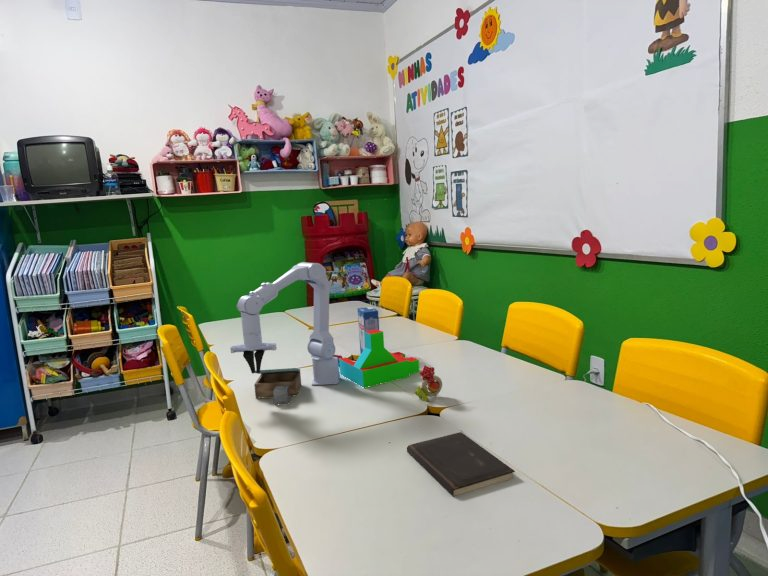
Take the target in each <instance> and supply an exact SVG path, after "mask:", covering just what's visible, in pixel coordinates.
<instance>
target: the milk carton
mask: <svg viewBox="0 0 768 576" xmlns="http://www.w3.org/2000/svg"><path fill="white" fill-rule="evenodd" d="M357 320H358V321H357V323H358V337H359V350H360V351H359V352H360V354H361V353H362V352H363V350H364V348H365V338H364V332H365V331H371V330H376V329H377V330H380V319H379V310H378V309H376V308H374V307H373V306H367V307H359V308H357Z"/></svg>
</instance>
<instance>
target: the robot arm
mask: <svg viewBox="0 0 768 576" xmlns="http://www.w3.org/2000/svg"><path fill="white" fill-rule="evenodd" d="M296 281H303V282H306V283H307V284H308V285H310V287H312V288H313V331H312V332H311V334H310V335H309V341H308V342H307V349H306V350H307V352H308V353H309V355H310V357H311V362H312V371H313V372H312V373H313V374H312V375H313V380H312V383H311V386H321V385H323V386H325V385H335V384H336V385H337V384H339V381H340V376H341V375H340V364H338V357H333V355H336V346H335V343H334V342H335V341H334V337H333V335H332V334H331V333H330V326H329V325H330V281H329V278H328V275H327V269H326V268H325V267H324V266H323V265H322V264H321V263H318V262H306V261H302V262H299V263H297V264H295V265H293V266H292V267H291V268H290V269H289V270H288V271H286V272H285V273H284V274H283V275H281V276H280V277H278V278H277V279H276V280H275V281H273V282H268V281H267V282H262V283H261V284H260V286H259V287H258V288H256V289H255V290H253V291H252V290H251V291H249V294H247V295H243V296H241V297H240V298H239V299H238V302H237V304H236V308H237V310H238V312H240V318H241V328H242V338H243V344H237V345H231V346H230V347H229V348H230V349H229V350H230V353H231V354H235V353H243V354H242V356H243V358H244V359H245V361H246V363H247V365H248V367H249V370H250V372H251V374H255V373H254V372H255V371H257V373H256V374H258V373H259V372H260V370H261V368H262V367H261V365H262V360H263V359H264V358H263V357H264V354H265V352H266V351H276V350H277V342H275V343H273V342H271V343H270V342H263V341H262V340H263V338H262V329H261V327H262V326H261V318H260V312H261V311H262V309H263V307H264V306H265V305H267V304H268V303H270V302H271V301H273V300H274V299H275V298H277V297H278V295H279V291H282V290H283V289H284V288H286V287H288V286H290V285H291V284H294V282H296ZM255 366H256V367H255Z"/></svg>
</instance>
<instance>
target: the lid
mask: <svg viewBox="0 0 768 576" xmlns="http://www.w3.org/2000/svg"><path fill="white" fill-rule="evenodd" d="M299 371H300V372H301V369H300V368H296V367H293V368H292V367H291V368H275V369H274V368H273V369H260V372H259V373H257V371H256V370H255V372H254V373H253V374H259V375H261V374H268V373H284V372H299Z"/></svg>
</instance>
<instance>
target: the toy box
mask: <svg viewBox="0 0 768 576" xmlns="http://www.w3.org/2000/svg"><path fill="white" fill-rule="evenodd" d="M301 377H302V376H301V370H300V371H299V372H284V373H268V374H259V377H258V378H257V380H256V381H255V382H254V385H253V386H254V396H255V399H263V398H262V397H270V398H274V394H273V390H274V388H275V386H283V385H289V388H290V397H297V396H298V395H299V392H300V389H301V387H302V378H301ZM298 391H299V392H298ZM259 397H260V398H259Z"/></svg>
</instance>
